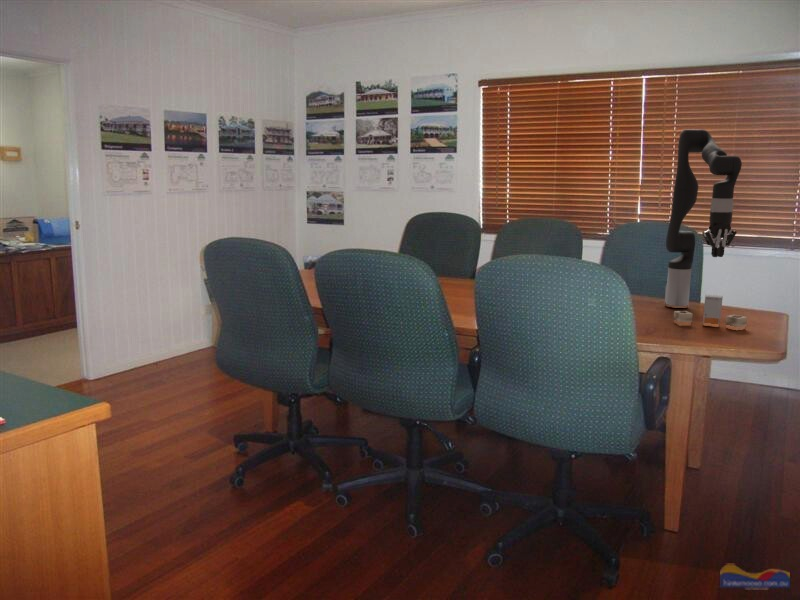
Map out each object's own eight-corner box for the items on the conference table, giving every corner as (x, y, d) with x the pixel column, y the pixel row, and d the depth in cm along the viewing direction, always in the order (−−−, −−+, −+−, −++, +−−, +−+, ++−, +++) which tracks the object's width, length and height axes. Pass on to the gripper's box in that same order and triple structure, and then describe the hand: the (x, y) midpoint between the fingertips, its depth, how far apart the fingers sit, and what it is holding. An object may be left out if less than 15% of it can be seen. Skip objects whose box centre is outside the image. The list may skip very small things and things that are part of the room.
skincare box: (702, 326, 257) (704, 296, 254) (702, 324, 261) (705, 294, 258) (719, 328, 254) (722, 297, 252) (720, 326, 258) (722, 295, 255)
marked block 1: (673, 323, 263) (674, 310, 262) (685, 323, 263) (686, 310, 262) (678, 326, 258) (679, 313, 257) (691, 326, 258) (692, 313, 257)
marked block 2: (725, 328, 254) (726, 315, 253) (734, 327, 256) (735, 313, 255) (736, 331, 250) (738, 318, 248) (745, 330, 252) (747, 316, 251)
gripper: (730, 209, 253) (726, 254, 257) (698, 210, 251) (694, 256, 254) (744, 210, 246) (740, 257, 250) (711, 211, 243) (707, 258, 247)
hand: (717, 256), depth 252 cm, fingers closed
